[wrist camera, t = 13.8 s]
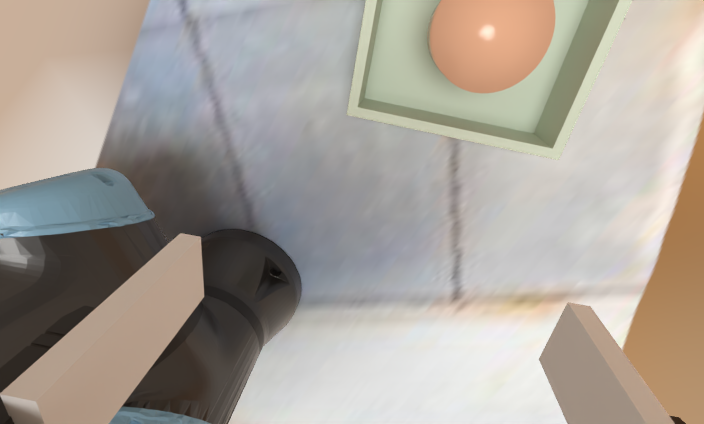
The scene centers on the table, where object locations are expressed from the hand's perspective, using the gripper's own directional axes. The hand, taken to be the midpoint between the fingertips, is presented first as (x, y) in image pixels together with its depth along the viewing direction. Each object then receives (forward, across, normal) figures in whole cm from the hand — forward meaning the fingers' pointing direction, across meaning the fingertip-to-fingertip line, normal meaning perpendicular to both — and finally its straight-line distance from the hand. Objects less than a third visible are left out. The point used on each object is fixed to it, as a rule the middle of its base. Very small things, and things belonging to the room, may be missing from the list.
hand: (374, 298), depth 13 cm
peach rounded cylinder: (+24, +5, +10) cm, 27 cm away
